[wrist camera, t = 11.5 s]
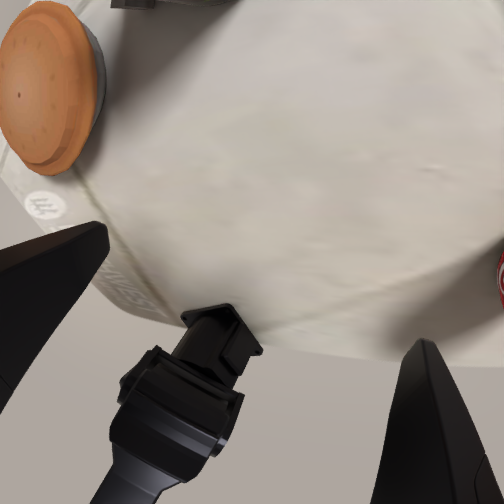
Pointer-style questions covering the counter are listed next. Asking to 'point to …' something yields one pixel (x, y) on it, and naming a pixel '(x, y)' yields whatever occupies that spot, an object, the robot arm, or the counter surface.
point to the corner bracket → (132, 4)
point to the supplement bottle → (198, 2)
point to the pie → (49, 86)
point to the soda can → (501, 278)
